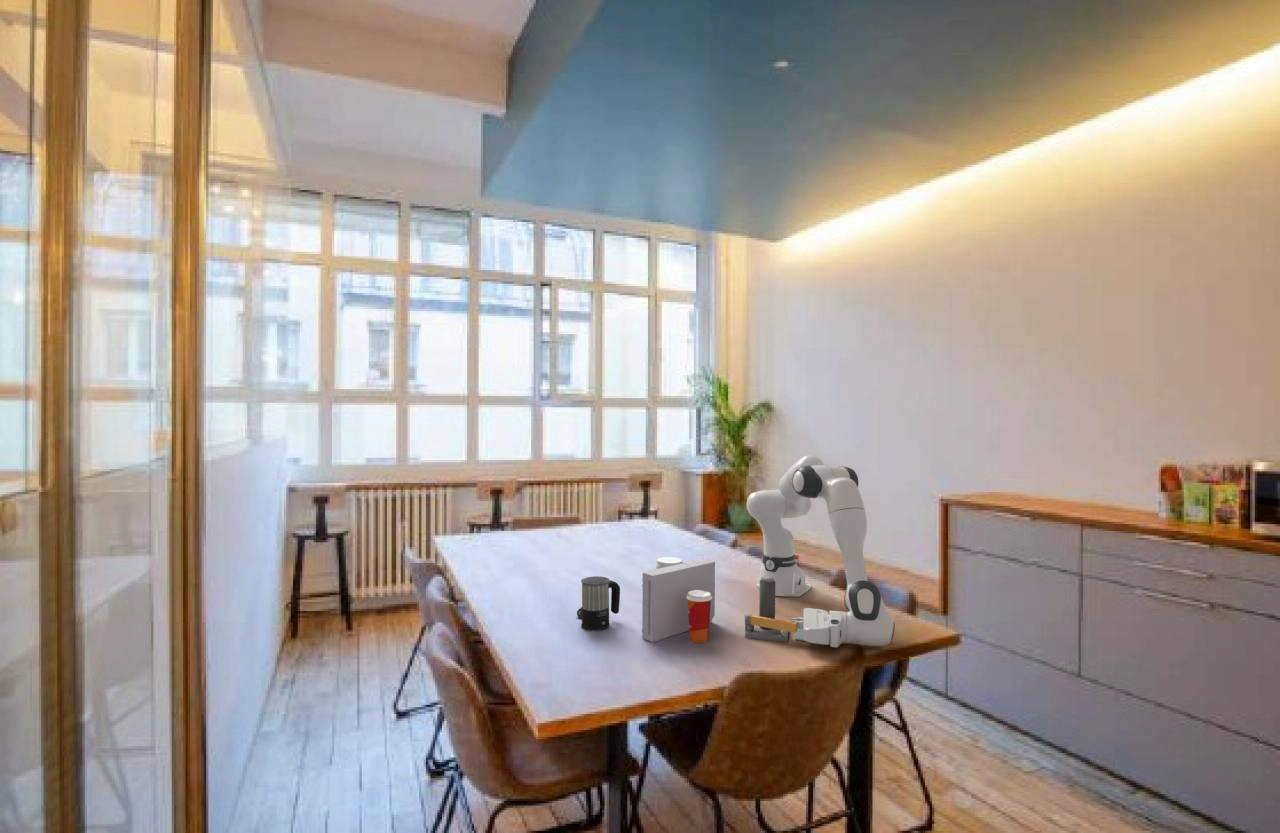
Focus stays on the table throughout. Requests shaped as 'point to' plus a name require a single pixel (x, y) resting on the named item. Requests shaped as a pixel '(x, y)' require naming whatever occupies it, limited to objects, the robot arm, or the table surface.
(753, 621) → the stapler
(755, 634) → the gray angle bracket
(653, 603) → the game console
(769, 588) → the plug
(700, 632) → the paper cup
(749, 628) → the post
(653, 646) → the table surface
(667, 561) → the supplement tub
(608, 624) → the milk frother
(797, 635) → the pad
